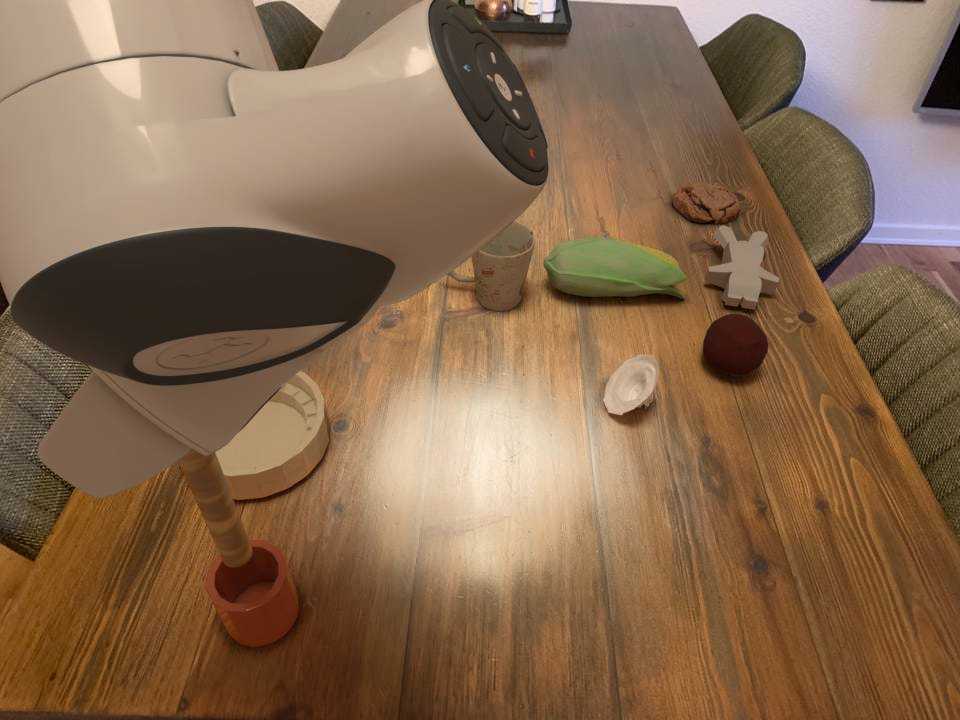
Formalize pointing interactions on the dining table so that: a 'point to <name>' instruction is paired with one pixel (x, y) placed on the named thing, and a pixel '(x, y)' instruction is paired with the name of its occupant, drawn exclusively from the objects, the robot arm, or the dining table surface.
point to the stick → (217, 507)
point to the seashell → (632, 384)
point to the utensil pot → (254, 595)
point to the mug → (502, 268)
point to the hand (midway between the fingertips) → (152, 370)
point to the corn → (611, 269)
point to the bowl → (278, 442)
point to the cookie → (706, 203)
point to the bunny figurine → (741, 269)
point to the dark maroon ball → (735, 345)
